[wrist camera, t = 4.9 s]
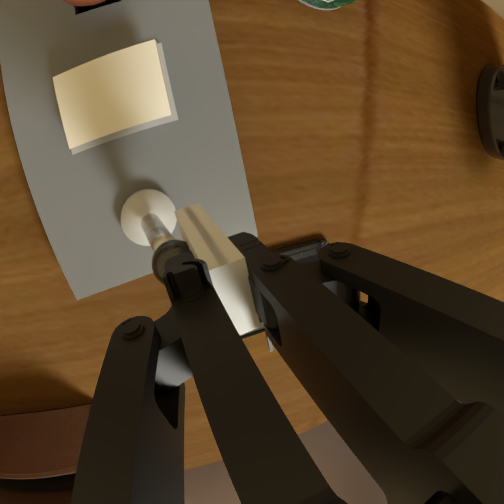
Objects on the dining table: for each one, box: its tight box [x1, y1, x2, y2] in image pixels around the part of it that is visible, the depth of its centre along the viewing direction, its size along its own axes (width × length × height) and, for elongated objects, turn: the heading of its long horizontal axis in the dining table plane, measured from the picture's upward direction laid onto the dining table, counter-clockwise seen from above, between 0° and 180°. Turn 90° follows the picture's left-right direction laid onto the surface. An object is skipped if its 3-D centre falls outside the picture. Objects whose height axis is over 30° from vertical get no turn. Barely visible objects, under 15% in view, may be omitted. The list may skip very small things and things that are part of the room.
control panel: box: [0, 0, 258, 300], centre depth 17 cm, size 14×24×4 cm, turn 11°
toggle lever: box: [141, 213, 190, 285], centre depth 15 cm, size 2×2×8 cm
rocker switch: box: [53, 39, 173, 149], centre depth 14 cm, size 6×4×2 cm
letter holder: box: [0, 404, 91, 504], centre depth 21 cm, size 10×20×14 cm, turn 94°
